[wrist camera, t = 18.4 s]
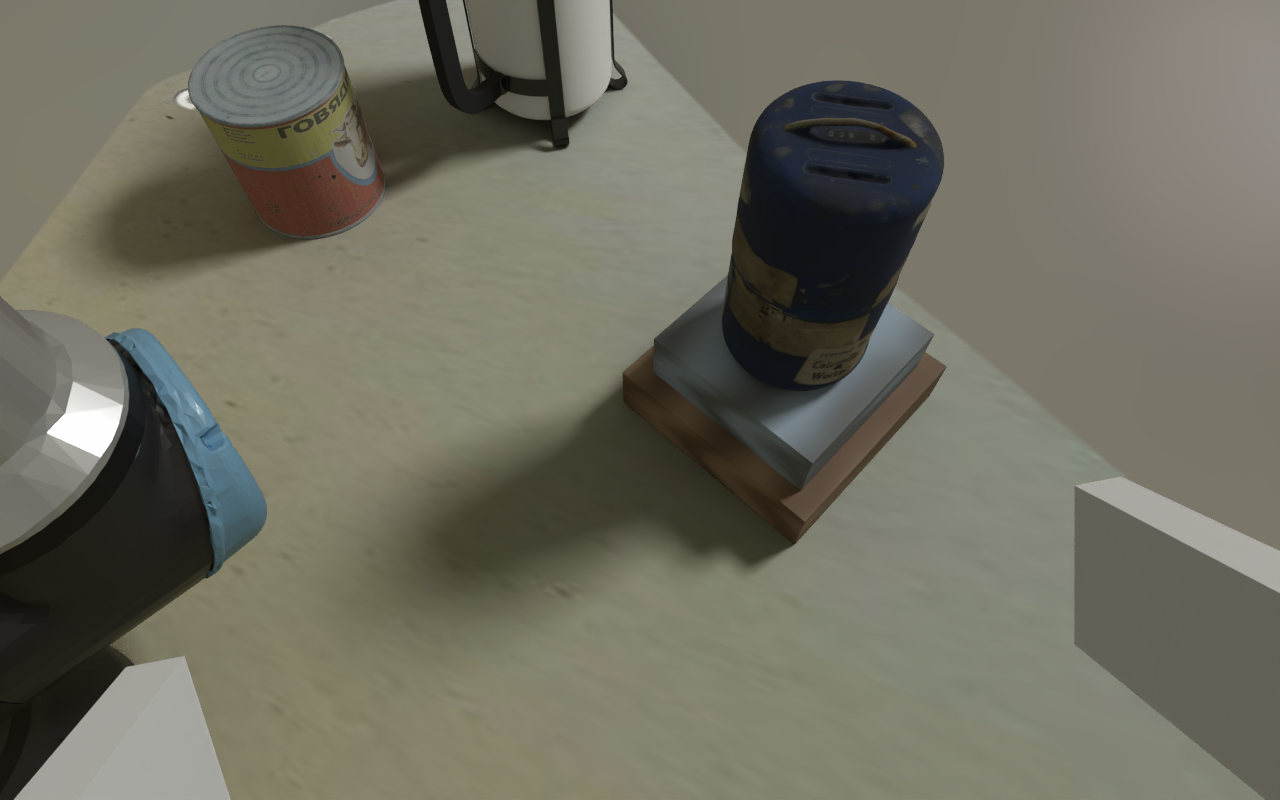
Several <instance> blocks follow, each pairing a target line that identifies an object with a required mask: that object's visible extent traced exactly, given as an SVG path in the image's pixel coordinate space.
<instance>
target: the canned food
mask: <svg viewBox="0 0 1280 800" xmlns="http://www.w3.org/2000/svg"><path fill="white" fill-rule="evenodd" d="M188 92H189V96H190V99H191V101H192V103H193V104H194V106H195V107H196V108H197V109H198V111H199V112H200V114H201V115H202V117H203V119H204V121H205V122H206V124H207V126H208V128H209V129H210V131H211V133H212V135H213V136H214V138H215V140H216V142H217V143H218V145H219V147H220V148H221V150H222V152H223V154H224V155H225V157H226V159H227V161H228V162H229V164H230V166H231V168H232V169H233V171H234V173H235V175H236V176H237V178H238V180H239V182H240V183H241V185H242V187H243V188H244V190H245V192H246V194H247V195H248V197H249V199H250V201H251V202H252V204H253V206H254V208H255V211H256V213H257V215H258V217H259V218H260V220H261V221H262V222H263V223H264V224H265V225H266V226H267V227H268V228H270V229H271V230H273V231H274V232H276V233H279V234H281V235H284V236H287V237H292V238H298V239H317V238H324V237H329V236H333V235H336V234H339V233H342V232H344V231H347V230H349V229H351V228H353V227H355V226H356V225H358V224H359V223H361V222H362V221H364V220H365V219H366V218H367V217H369V216H370V215H371V214H372V213H373V212H374V210H375V209H376V208H377V207H378V205H379V204H380V202H381V200H382V198H383V196H384V193H385V189H386V176H385V172H384V169H383V167H382V165H381V164H380V162H379V159H378V156H377V153H376V151H375V148H374V145H373V142H372V140H371V137H370V134H369V131H368V129H367V126H366V123H365V120H364V118H363V115H362V112H361V109H360V107H359V104H358V101H357V98H356V96H355V93H354V90H353V87H352V85H351V82H350V79H349V76H348V74H347V71H346V68H345V65H344V59H343V56H342V53H341V51H340V49H339V48H338V46H337V45H336V44H335V43H334V42H333V41H332V40H331V39H330V38H328V37H327V36H325V35H323V34H322V33H319V32H317V31H314V30H311V29H308V28H304V27H298V26H286V25H285V26H284V25H282V26H267V27H261V28H256V29H252V30H248V31H245V32H242V33H239V34H237V35H234V36H232V37H230V38H228V39H226V40H224V41H222V42H220V43H219V44H217V45H216V46H214V47H213V48H211V49H210V50H209V51H208V52H207V53H205V54H204V55H203V56H202V57H201V58H200V60H199V61H198V62H197V64H196V65H195V67H194V68H193V70H192V72H191V75H190V77H189V82H188Z"/></svg>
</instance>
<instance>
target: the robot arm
mask: <svg viewBox="0 0 1280 800" xmlns="http://www.w3.org/2000/svg"><path fill="white" fill-rule="evenodd" d="M266 516H267V505H266V501H265V498H264V496H263V494H262V492H261V490H260V488H259V486H258V484H257V482H256V481H255V479H254V477H253V475H252V474H251V472H250V471H249V469H248V467H247V466H246V464H245V463H244V461H243V459H242V458H241V456H240V455H239V453H238V452H237V450H236V449H235V447H234V446H233V444H232V443H231V441H230V440H229V439H228V437H227V436H226V435H225V434H224V433H223V432H222V431H221V429H220V426H219V424H218V423H217V421H216V420H215V418H214V417H213V416H212V414H211V412H210V410H209V408H208V407H207V405H206V404H205V403H204V401H203V400H202V398H201V397H200V395H199V394H198V392H197V391H196V390H195V388H194V387H193V385H192V384H191V383H190V381H189V380H188V378H187V377H186V376H185V374H184V373H183V372H182V370H181V369H180V368H179V366H178V365H177V364H176V362H175V361H174V360H173V358H172V357H171V356H170V354H169V353H168V352H167V351H166V349H165V348H164V347H163V346H162V344H161V343H160V342H159V341H158V340H157V339H156V338H155V337H154V336H153V335H152V334H151V333H150V332H148V331H146V330H143V329H135V328H133V329H129V330H127V331H124V332H122V333H112V334H111V335H109V336H107V337H103V336H102V335H100V334H99V333H98V332H96V331H95V330H94V329H92V328H91V327H89V326H88V325H86V324H85V323H83V322H82V321H79V320H77V319H74V318H72V317H69V316H66V315H62V314H58V313H53V312H47V311H37V310H15V309H14V308H13V307H11V306H10V305H9V304H8V303H7V302H6V301H5V300H4V299H3V298H2V297H1V296H0V800H231V799H230V796H229V793H228V790H227V787H226V784H225V781H224V778H223V774H222V771H221V768H220V765H219V762H218V759H217V756H216V753H215V750H214V747H213V743H212V740H211V737H210V734H209V731H208V728H207V725H206V722H205V719H204V716H203V712H202V709H201V706H200V703H199V700H198V697H197V694H196V691H195V688H194V685H193V681H192V678H191V675H190V672H189V669H188V666H187V663H186V660H185V657H184V656H182V657H176V658H171V659H166V660H161V661H156V662H150V663H145V664H140V665H134V664H133V663H132V662H131V661H130V660H129V659H128V658H127V657H126V656H125V655H123V654H122V653H121V652H119V651H118V650H116V649H114V648H113V647H111V646H109V645H110V644H112V643H113V642H115V641H116V640H117V639H119V638H120V637H122V636H123V635H125V634H126V633H127V632H129V631H130V630H132V629H133V628H134V627H136V626H137V625H139V624H140V623H142V622H143V621H144V620H146V619H147V618H149V617H150V616H152V615H153V614H154V613H156V612H157V611H159V610H160V609H162V608H163V607H164V606H166V605H167V604H169V603H170V602H171V601H173V600H174V599H176V598H177V597H179V596H180V595H181V594H183V593H184V592H186V591H187V590H189V589H190V588H191V587H193V586H194V585H196V584H197V583H198V582H200V581H201V580H203V579H204V578H209V577H210V576H212V575H214V574H216V573H217V572H218V570H219V569H220V568H221V566H222V564H223V562H225V561H226V560H227V559H228V558H230V557H231V556H232V555H233V554H235V553H236V552H237V551H238V550H240V549H241V548H242V547H243V546H245V545H246V544H247V543H248V542H250V541H251V540H252V539H253V538H254V537H255V536H257V535H258V533H259V532H260V531H261V529H262V527H263V526H264V523H265V520H266ZM1074 644H1075V645H1076V646H1077V647H1079V648H1080V649H1081V650H1082V651H1083V652H1085V653H1086V654H1087V655H1088V656H1090V657H1091V658H1092V659H1093V660H1095V661H1096V662H1097V663H1098V664H1099V665H1101V666H1102V667H1103V668H1104V669H1106V670H1107V671H1108V672H1109V673H1111V674H1112V675H1113V676H1114V677H1115V678H1117V679H1118V680H1119V681H1120V682H1122V683H1123V684H1124V685H1125V686H1127V687H1128V688H1129V689H1130V690H1131V691H1133V692H1134V693H1135V694H1136V695H1138V696H1139V697H1140V698H1141V699H1143V700H1144V701H1145V702H1146V703H1147V704H1149V705H1150V706H1151V707H1152V708H1154V709H1155V710H1156V711H1157V712H1159V713H1160V714H1161V715H1162V716H1163V717H1165V718H1166V719H1167V720H1168V721H1170V722H1171V723H1172V724H1173V725H1175V726H1176V727H1177V728H1178V729H1179V730H1181V731H1182V732H1183V733H1184V734H1186V735H1187V736H1188V737H1189V738H1191V739H1192V740H1193V741H1194V742H1195V743H1197V744H1198V745H1199V746H1200V747H1202V748H1203V749H1204V750H1205V751H1207V752H1208V753H1209V754H1210V755H1211V756H1213V757H1214V758H1215V759H1216V760H1218V761H1219V762H1220V763H1221V764H1223V765H1224V766H1225V767H1226V768H1227V769H1229V770H1230V771H1231V772H1232V773H1234V774H1235V775H1236V776H1237V777H1239V778H1240V779H1241V780H1242V781H1243V782H1245V783H1246V784H1247V785H1248V786H1250V787H1251V788H1252V789H1253V790H1255V791H1256V792H1257V793H1258V794H1259V795H1261V796H1262V797H1263V798H1264V799H1266V800H1280V551H1278V550H1276V549H1274V548H1272V547H1269V546H1268V545H1265V544H1263V543H1261V542H1259V541H1257V540H1255V539H1253V538H1250V537H1248V536H1246V535H1244V534H1242V533H1240V532H1238V531H1236V530H1233V529H1231V528H1229V527H1227V526H1225V525H1223V524H1221V523H1219V522H1216V521H1214V520H1212V519H1210V518H1208V517H1206V516H1204V515H1201V514H1199V513H1197V512H1195V511H1193V510H1191V509H1189V508H1186V507H1184V506H1182V505H1180V504H1178V503H1176V502H1174V501H1171V500H1170V499H1167V498H1165V497H1163V496H1161V495H1159V494H1157V493H1155V492H1152V491H1150V490H1148V489H1146V488H1144V487H1142V486H1140V485H1138V484H1135V483H1133V482H1131V481H1129V480H1127V479H1125V478H1123V477H1117V478H1112V479H1106V480H1101V481H1096V482H1091V483H1086V484H1080V485H1075V639H1074Z"/></svg>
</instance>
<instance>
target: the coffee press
mask: <svg viewBox="0 0 1280 800" xmlns="http://www.w3.org/2000/svg"><path fill="white" fill-rule="evenodd" d="M463 3H464V8H465V13H466V18H467V23H468V28H469V33H470V38H471V43H472V48H473V53H474V58H475V63H476V69H477V78H476V81H475V83H474V85H473V86H472V88H471V89H470V90H468V89H467V87H466V85H465V83H464V79H463V76H462V71H461V67H460V63H459V58H458V54H457V49H456V45H455V40H454V36H453V31H452V27H451V22H450V17H449V13H448V8H447V4H446V0H419V5H420V9H421V14H422V18H423V23H424V27H425V31H426V35H427V39H428V43H429V47H430V51H431V55H432V59H433V63H434V67H435V70H436V74H437V77H438V81H439V84H440V87H441V90H442V92H443V94H444V97H445V98H446V100H447V101H448V102H449V103H450V105H452V106H453V107H455V108H457V109H459V110H461V111H463V112H465V113H470V114H473V113H477V112H480V111H482V110H484V109H485V108H487V107H488V106H490V105H491V104H492V103H493V102H495V103H496V104H497V105H499V106H500V107H501V108H503V109H505V110H506V111H508V112H510V113H513V114H515V115H518V116H520V117H524V118H528V119H535V120H550V125H551V130H552V136H553V141H554V146H562V145H568V144H569V136H568V130H567V123H566V117H569V116H572V115H575V114H577V113H579V112H581V111H583V110H585V109H587V108H588V107H590V106H591V105H593V104H594V103H595V102H596V101H597V100H598V99H599V98H600V97H601V96H602V95H603V93H604V92H605V90H606V88H607V86H608V85H610V86H611V87H613V88H614V89H617V90H619V89H623V88H624V87H625V86H626V85H627V78H626V75H625V72H624V69H623V68H622V67H621V66H620V65H619V64H618V63H617V62H616V61H615V59H614V39H613V8H612V0H466V4H465V0H463ZM466 5H467V9H466ZM467 10H468V14H467ZM468 15H469V20H470V25H471V30H472V35H473V40H474V45H475V49H474V45H473V40H472V35H471V30H470V25H469V20H468ZM475 50H476V51H475ZM611 57H612V60H613V64H614V66H615V68H616V69H617V71H618V72H619V73H620V74H621V75H622V77H621V78H620V79H616V80H615V79H612V78H611ZM478 68H479V70H480V74H481V78H482V82H481V83H480V77H479V71H478Z"/></svg>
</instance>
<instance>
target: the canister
mask: <svg viewBox="0 0 1280 800" xmlns="http://www.w3.org/2000/svg"><path fill="white" fill-rule="evenodd" d="M943 168H944V154H943V148H942V143H941V140H940V138H939V135H938V133H937V131H936V130H935V128H934V127H933V125H932V123H931V122H930V121H929V119H928V118H927V117H926V116H925V115H924V114H923V113H922V112H921V111H920V110H919V109H918V108H917V107H915V106H914V105H913V104H912V103H910V102H909V101H907V100H906V99H904V98H903V97H901V96H899V95H897V94H895V93H893V92H891V91H888V90H886V89H884V88H880V87H877V86H873V85H870V84H865V83H860V82H852V81H822V82H817V83H811V84H807V85H804V86H801V87H798V88H795V89H793V90H791V91H789V92H787V93H785V94H783V95H782V96H781V97H779V98H778V99H776V100H775V101H773V102H772V103H771V104H770V105H769V106H768V107H767V108H766V109H765V110H764V111H763V113H762V114H761V115H760V117H759V118H758V120H757V122H756V124H755V126H754V128H753V131H752V133H751V137H750V142H749V146H748V151H747V157H746V163H745V168H744V173H743V179H742V184H741V190H740V197H739V202H738V209H737V216H736V222H735V227H734V233H733V239H732V255H731V261H730V267H729V273H728V279H727V286H726V292H725V298H724V304H723V312H722V330H723V336H724V339H725V342H726V345H727V347H728V349H729V351H730V353H731V354H732V356H733V357H734V359H735V360H736V361H737V363H738V364H739V365H740V366H741V367H742V368H743V369H744V370H745V371H746V372H748V373H749V374H750V375H752V376H753V377H755V378H757V379H758V380H760V381H762V382H764V383H766V384H768V385H771V386H774V387H777V388H781V389H785V390H793V391H810V390H816V389H820V388H824V387H827V386H830V385H832V384H834V383H836V382H838V381H840V380H841V379H843V378H845V377H846V376H847V375H848V374H850V373H851V372H852V371H853V370H854V369H855V368H856V366H857V365H858V364H859V363H860V361H861V360H862V358H863V356H864V354H865V352H866V349H867V347H868V343H869V340H870V337H871V335H872V333H873V331H874V330H875V328H876V325H877V323H878V321H879V319H880V317H881V315H882V313H883V311H884V309H885V307H886V305H887V303H888V301H889V299H890V297H891V295H892V292H893V290H894V288H895V286H896V283H897V281H898V278H899V275H900V272H901V270H902V268H903V266H904V264H905V262H906V260H907V257H908V255H909V252H910V250H911V248H912V246H913V244H914V242H915V240H916V237H917V234H918V232H919V230H920V228H921V225H922V223H923V221H924V219H925V217H926V215H927V213H928V210H929V208H930V206H931V201H932V198H933V196H934V194H935V193H936V191H937V189H938V186H939V184H940V182H941V179H942V174H943Z"/></svg>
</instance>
